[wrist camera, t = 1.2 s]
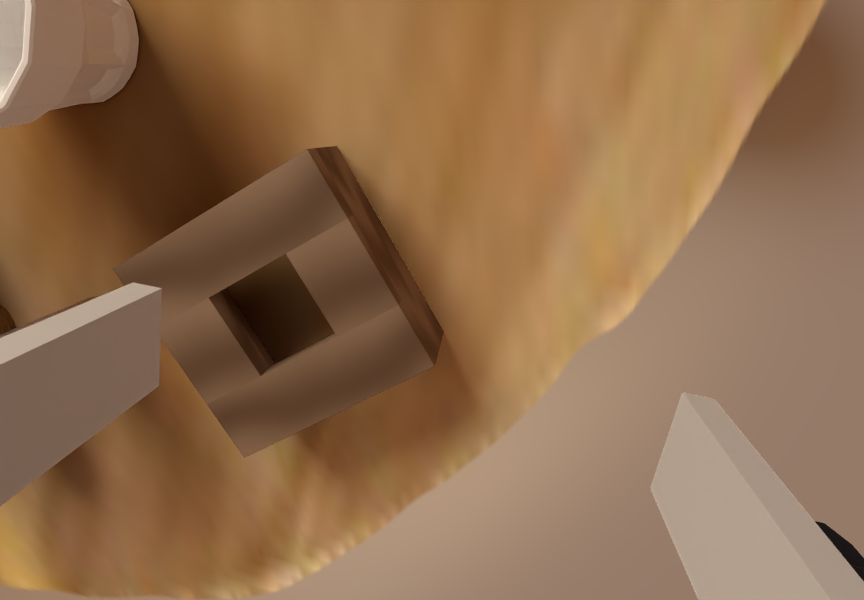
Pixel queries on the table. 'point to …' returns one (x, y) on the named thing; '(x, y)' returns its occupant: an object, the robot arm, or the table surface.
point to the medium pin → (5, 321)
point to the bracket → (325, 280)
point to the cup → (62, 54)
